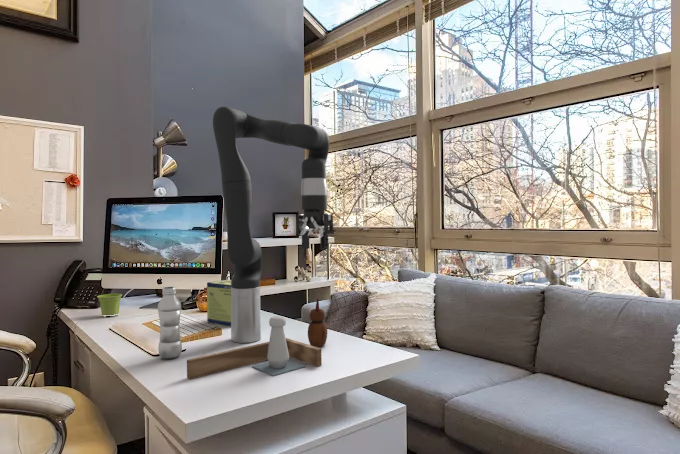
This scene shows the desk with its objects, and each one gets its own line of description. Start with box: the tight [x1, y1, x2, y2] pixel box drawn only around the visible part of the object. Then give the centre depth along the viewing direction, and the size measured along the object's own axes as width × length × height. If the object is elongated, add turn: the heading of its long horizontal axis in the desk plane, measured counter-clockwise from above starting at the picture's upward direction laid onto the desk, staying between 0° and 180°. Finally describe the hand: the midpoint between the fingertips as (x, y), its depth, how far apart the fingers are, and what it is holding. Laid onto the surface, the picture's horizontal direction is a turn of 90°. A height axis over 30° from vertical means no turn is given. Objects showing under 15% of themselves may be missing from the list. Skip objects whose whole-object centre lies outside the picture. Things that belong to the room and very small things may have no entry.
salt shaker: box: [266, 315, 290, 369], centre depth 121 cm, size 6×6×13 cm
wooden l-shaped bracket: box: [186, 337, 323, 380], centre depth 118 cm, size 16×30×4 cm, turn 132°
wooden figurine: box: [307, 298, 328, 348], centre depth 142 cm, size 7×6×15 cm
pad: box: [251, 359, 306, 377], centre depth 121 cm, size 10×10×1 cm
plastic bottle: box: [157, 286, 183, 359], centre depth 131 cm, size 6×7×20 cm
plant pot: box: [96, 293, 123, 316], centre depth 192 cm, size 9×9×9 cm
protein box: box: [206, 279, 232, 327], centre depth 178 cm, size 10×16×16 cm
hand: (314, 249), depth 136 cm, fingers open, 8 cm apart
